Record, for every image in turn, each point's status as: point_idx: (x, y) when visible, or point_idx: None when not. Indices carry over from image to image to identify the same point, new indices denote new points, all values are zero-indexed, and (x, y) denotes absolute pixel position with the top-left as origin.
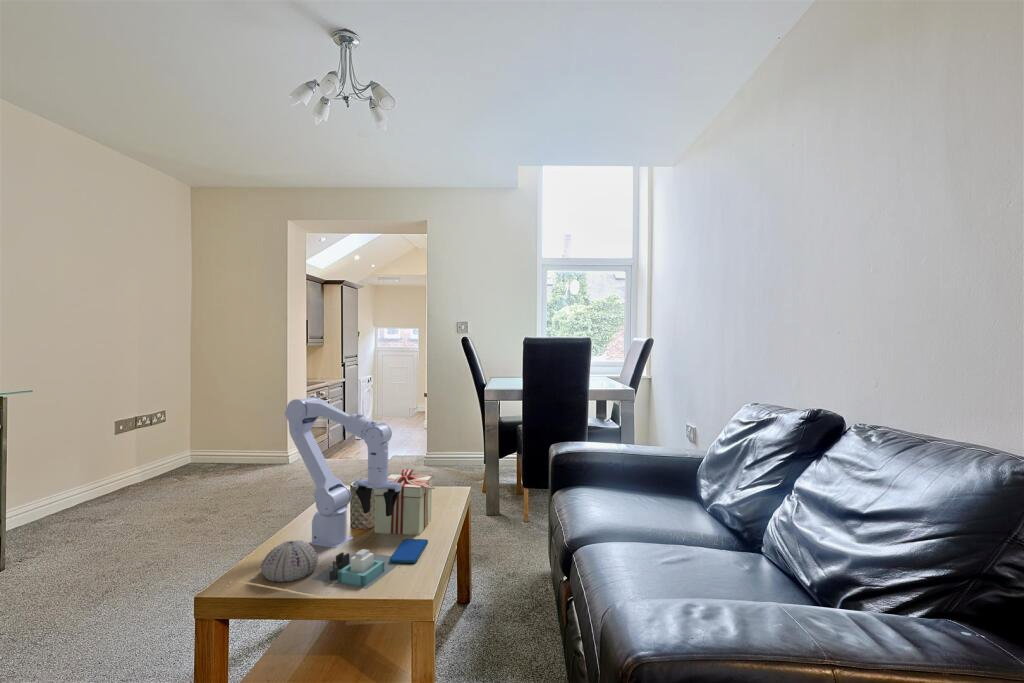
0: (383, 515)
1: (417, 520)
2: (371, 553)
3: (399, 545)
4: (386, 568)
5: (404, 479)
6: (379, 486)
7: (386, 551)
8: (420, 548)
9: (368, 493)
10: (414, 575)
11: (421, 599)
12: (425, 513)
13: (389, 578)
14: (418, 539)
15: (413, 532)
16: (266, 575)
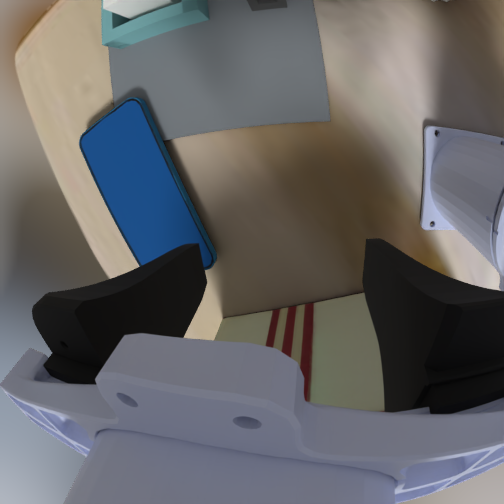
0: (347, 343)
1: None
2: (109, 3)
3: (189, 208)
4: (127, 65)
5: None
6: (90, 394)
7: (228, 174)
8: (119, 217)
9: (395, 370)
10: (61, 95)
11: (18, 46)
12: None
13: (96, 42)
14: None
15: (236, 322)
16: None
